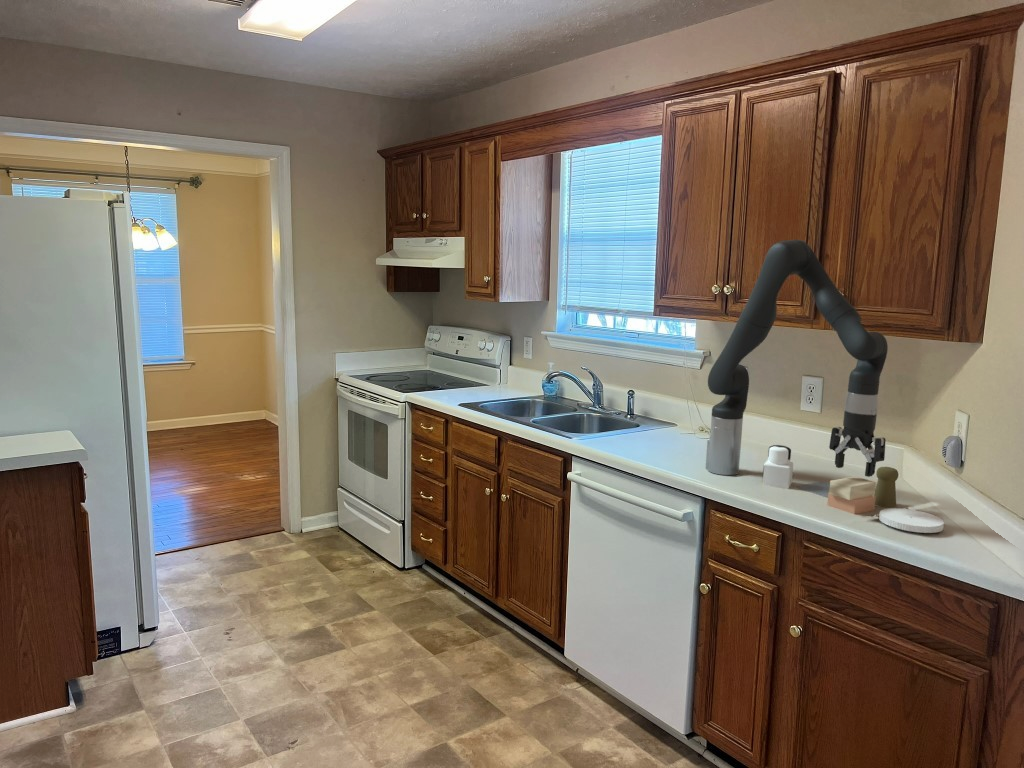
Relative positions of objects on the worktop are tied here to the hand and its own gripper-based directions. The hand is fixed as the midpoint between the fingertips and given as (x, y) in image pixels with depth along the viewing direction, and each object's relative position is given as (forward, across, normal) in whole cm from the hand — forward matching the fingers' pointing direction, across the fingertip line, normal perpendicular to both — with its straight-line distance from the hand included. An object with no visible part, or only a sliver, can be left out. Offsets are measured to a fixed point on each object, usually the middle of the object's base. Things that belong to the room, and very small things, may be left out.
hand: (853, 471), depth 193 cm
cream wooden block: (+6, 0, 0) cm, 6 cm away
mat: (+11, -14, +8) cm, 19 cm away
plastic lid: (+11, +14, +4) cm, 18 cm away
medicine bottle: (+11, -24, 0) cm, 26 cm away
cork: (+11, +2, +11) cm, 15 cm away
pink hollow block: (+10, 0, 0) cm, 11 cm away
